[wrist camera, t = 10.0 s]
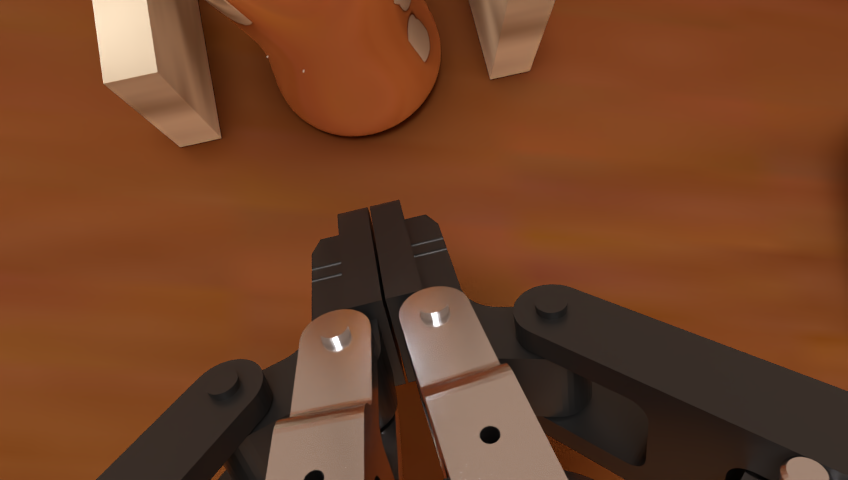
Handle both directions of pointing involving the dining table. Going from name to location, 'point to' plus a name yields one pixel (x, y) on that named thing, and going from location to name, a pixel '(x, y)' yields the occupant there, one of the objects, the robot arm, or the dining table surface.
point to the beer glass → (345, 57)
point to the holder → (189, 69)
